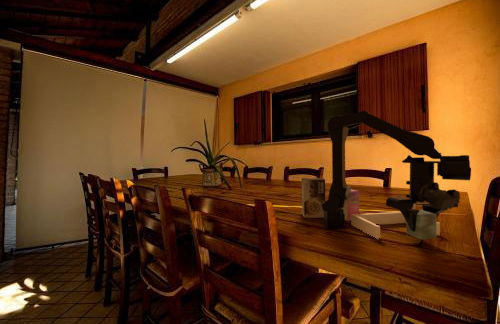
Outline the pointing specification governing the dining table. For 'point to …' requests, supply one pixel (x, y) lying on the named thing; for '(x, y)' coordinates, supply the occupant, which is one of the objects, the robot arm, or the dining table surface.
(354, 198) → the box
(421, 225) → the block
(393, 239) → the dining table surface
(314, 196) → the coffee box
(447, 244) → the dining table surface
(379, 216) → the wooden frame
